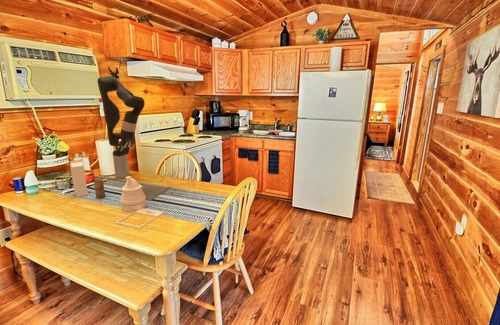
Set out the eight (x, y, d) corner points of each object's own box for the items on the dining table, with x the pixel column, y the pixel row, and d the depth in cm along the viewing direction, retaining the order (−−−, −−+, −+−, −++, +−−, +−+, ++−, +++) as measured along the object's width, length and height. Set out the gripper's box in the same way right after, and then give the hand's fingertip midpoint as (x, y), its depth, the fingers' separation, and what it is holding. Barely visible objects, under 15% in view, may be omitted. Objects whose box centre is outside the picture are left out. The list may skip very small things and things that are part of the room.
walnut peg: (100, 195, 158) (98, 178, 156) (107, 196, 157) (104, 179, 155) (94, 198, 154) (91, 181, 151) (101, 199, 153) (98, 181, 150)
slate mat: (146, 185, 176) (146, 184, 176) (169, 188, 173) (169, 187, 172) (124, 197, 156) (124, 196, 155) (150, 200, 152) (150, 199, 152)
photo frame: (164, 211, 136) (139, 227, 120) (164, 213, 136) (139, 229, 120) (141, 207, 141) (115, 222, 124) (141, 209, 141) (115, 224, 124)
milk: (88, 194, 160) (82, 160, 154) (76, 197, 156) (70, 162, 150) (85, 192, 164) (80, 158, 158) (74, 194, 160) (69, 159, 154)
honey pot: (137, 212, 136) (133, 180, 131) (115, 210, 138) (111, 178, 134) (151, 203, 148) (148, 173, 144) (131, 201, 151) (127, 171, 146)
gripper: (128, 126, 157) (123, 151, 161) (115, 128, 144) (109, 155, 147) (140, 130, 158) (134, 155, 161) (128, 132, 144) (121, 159, 147)
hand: (122, 155), depth 154 cm, fingers open, 8 cm apart
